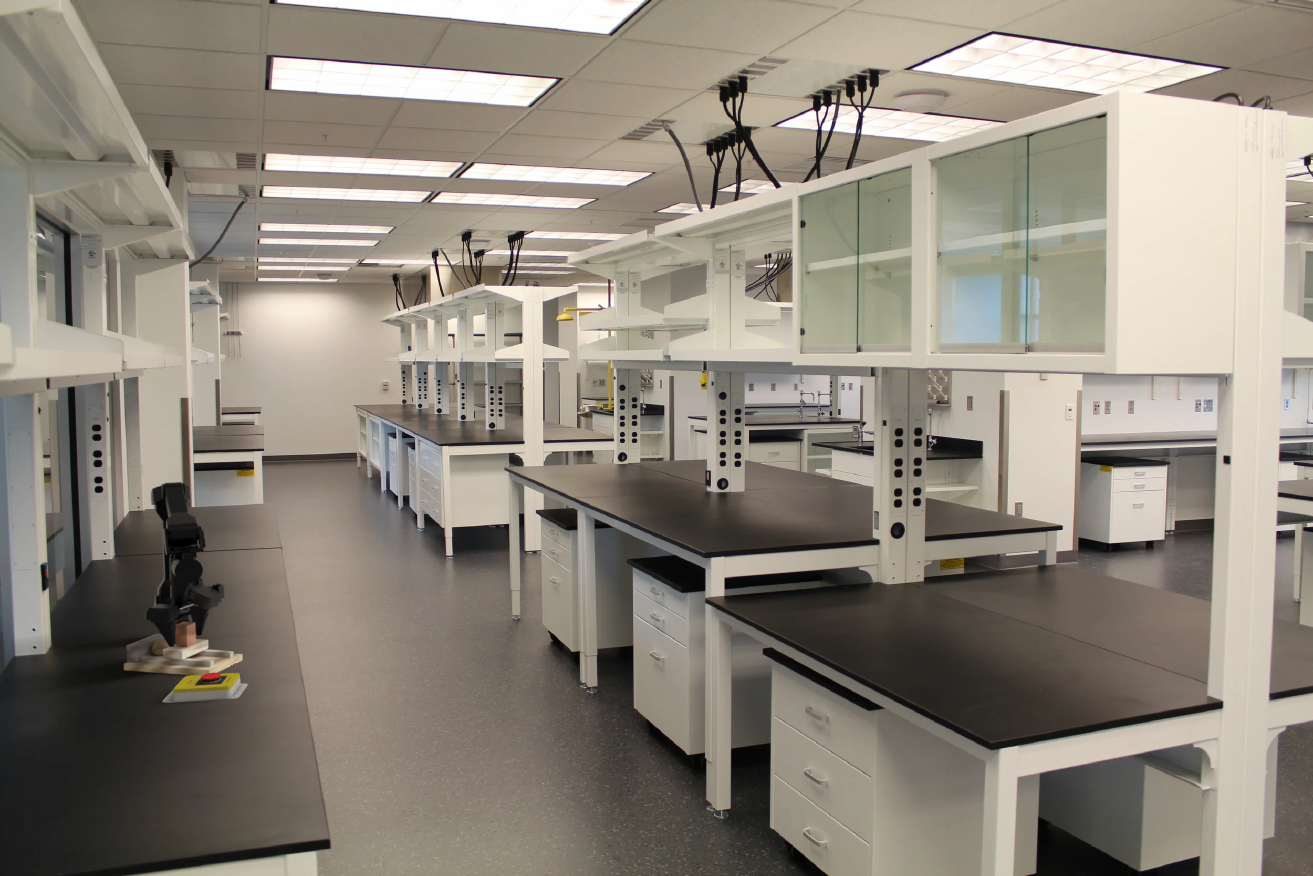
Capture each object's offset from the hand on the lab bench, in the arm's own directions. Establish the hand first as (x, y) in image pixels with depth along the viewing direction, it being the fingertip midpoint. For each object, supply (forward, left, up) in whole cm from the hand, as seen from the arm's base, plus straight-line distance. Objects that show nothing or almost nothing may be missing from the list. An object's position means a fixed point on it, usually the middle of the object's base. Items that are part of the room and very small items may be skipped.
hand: (185, 641), depth 213 cm
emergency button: (+17, -16, -6) cm, 24 cm away
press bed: (-1, 0, -6) cm, 6 cm away
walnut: (-6, 0, -4) cm, 8 cm away
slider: (0, 0, -3) cm, 3 cm away
